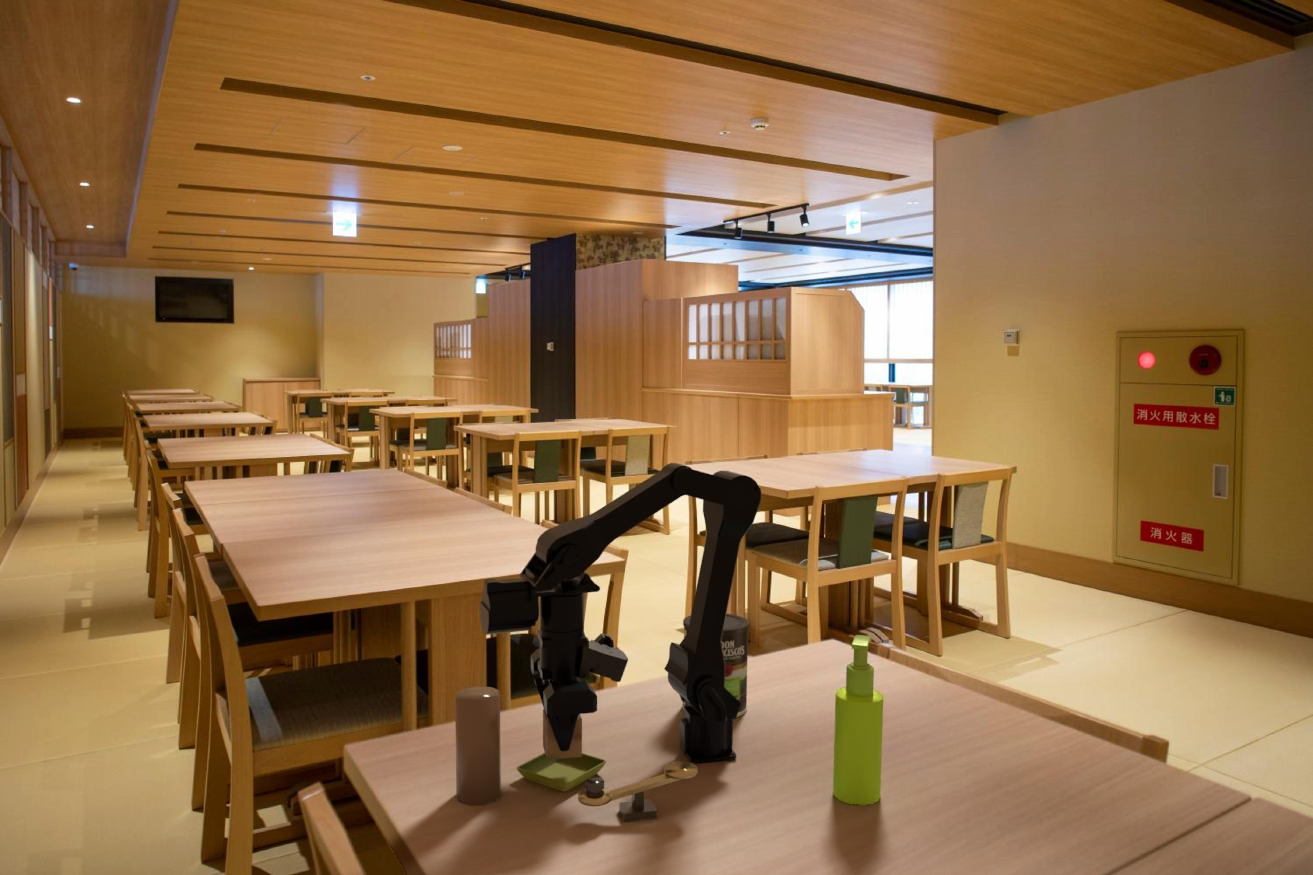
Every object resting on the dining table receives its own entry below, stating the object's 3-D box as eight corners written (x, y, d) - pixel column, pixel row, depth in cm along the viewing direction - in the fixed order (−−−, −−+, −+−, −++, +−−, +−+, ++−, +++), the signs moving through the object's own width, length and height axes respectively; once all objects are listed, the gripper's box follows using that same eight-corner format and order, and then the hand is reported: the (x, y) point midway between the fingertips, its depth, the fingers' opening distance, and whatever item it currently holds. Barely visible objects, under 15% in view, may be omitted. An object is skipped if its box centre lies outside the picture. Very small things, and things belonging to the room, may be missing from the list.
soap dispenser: (883, 784, 123) (888, 634, 122) (877, 808, 117) (882, 649, 115) (837, 777, 125) (841, 629, 124) (829, 800, 119) (833, 644, 117)
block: (542, 745, 127) (542, 709, 126) (576, 742, 128) (576, 706, 127) (547, 759, 122) (547, 722, 122) (581, 756, 123) (582, 719, 123)
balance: (691, 800, 119) (692, 759, 118) (700, 815, 115) (701, 773, 114) (575, 812, 115) (575, 770, 115) (580, 828, 111) (581, 785, 111)
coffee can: (757, 716, 147) (759, 627, 145) (694, 723, 144) (695, 632, 142) (733, 694, 156) (735, 609, 155) (673, 699, 153) (674, 614, 152)
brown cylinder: (499, 782, 123) (498, 684, 122) (502, 802, 118) (501, 699, 116) (455, 787, 122) (454, 688, 120) (457, 806, 116) (455, 703, 115)
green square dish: (514, 782, 124) (514, 766, 124) (557, 759, 131) (557, 744, 131) (566, 800, 119) (566, 784, 119) (608, 775, 126) (608, 760, 126)
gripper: (638, 643, 116) (637, 766, 118) (609, 604, 134) (608, 712, 136) (547, 649, 114) (547, 775, 115) (530, 609, 132) (530, 718, 133)
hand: (561, 742), depth 125 cm, fingers open, 5 cm apart
